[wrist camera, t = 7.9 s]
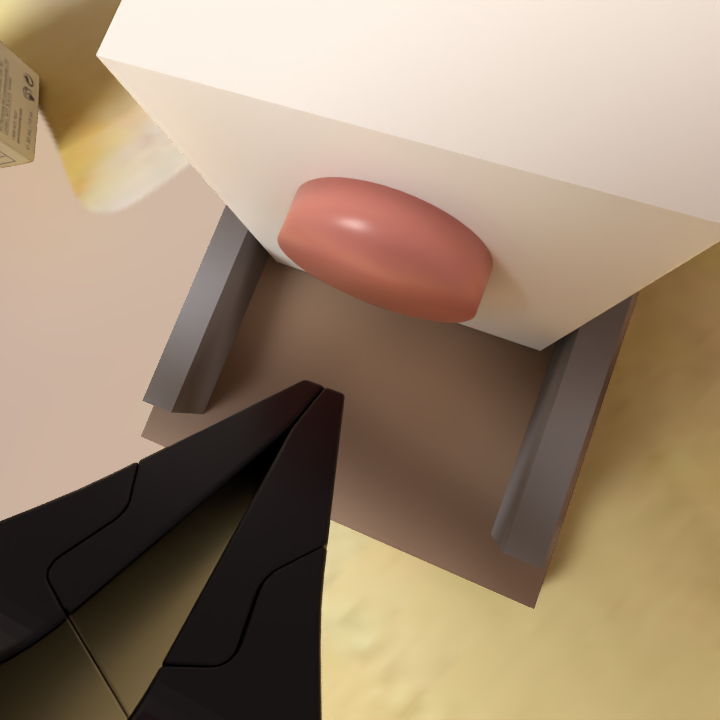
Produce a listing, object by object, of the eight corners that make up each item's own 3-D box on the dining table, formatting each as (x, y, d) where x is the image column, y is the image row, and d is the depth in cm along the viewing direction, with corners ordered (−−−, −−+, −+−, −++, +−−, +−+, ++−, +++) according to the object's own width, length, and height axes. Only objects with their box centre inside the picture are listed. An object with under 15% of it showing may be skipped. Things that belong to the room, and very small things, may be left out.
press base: (524, 593, 14) (567, 662, 10) (160, 435, 16) (74, 439, 12) (673, 145, 16) (765, 45, 11) (319, 58, 18) (289, -52, 14)
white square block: (529, 380, 14) (715, 307, 5) (265, 288, 15) (69, 112, 7) (570, 262, 14) (809, 9, 5) (308, 184, 16) (173, -110, 7)
